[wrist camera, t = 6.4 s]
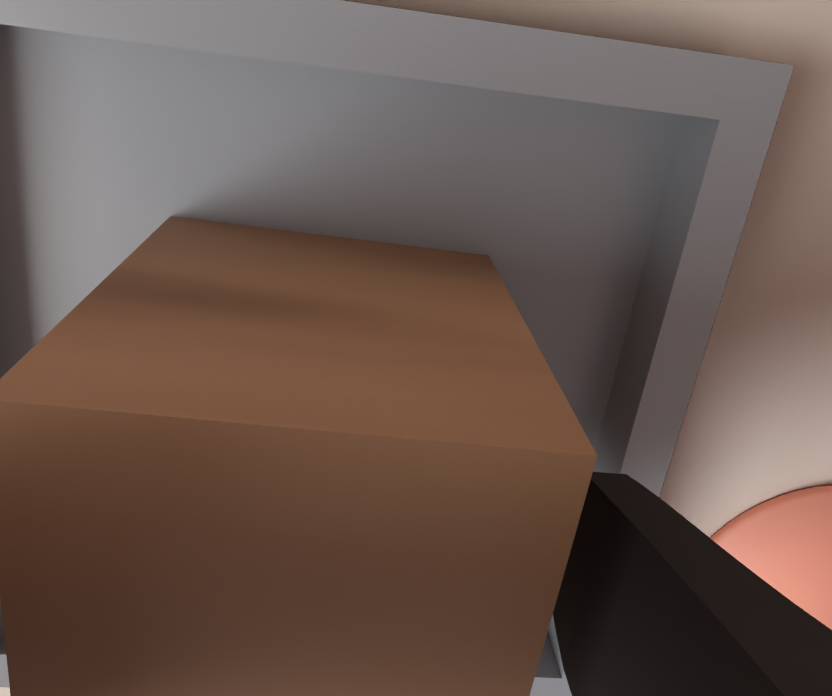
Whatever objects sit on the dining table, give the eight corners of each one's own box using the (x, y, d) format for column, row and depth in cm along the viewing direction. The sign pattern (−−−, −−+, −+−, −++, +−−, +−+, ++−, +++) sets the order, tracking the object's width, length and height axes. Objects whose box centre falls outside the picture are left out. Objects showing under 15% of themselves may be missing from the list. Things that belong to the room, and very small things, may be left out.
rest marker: (877, 702, 17) (885, 713, 17) (639, 692, 17) (643, 703, 16) (985, 495, 15) (997, 504, 15) (713, 474, 14) (720, 483, 14)
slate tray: (569, 639, 16) (593, 709, 14) (-3, 611, 15) (-49, 684, 13) (731, 59, 11) (794, 65, 10) (-90, -58, 10) (-181, -76, 8)
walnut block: (440, 509, 14) (490, 833, 8) (167, 488, 13) (23, 821, 8) (488, 255, 12) (597, 455, 6) (170, 216, 11) (-22, 398, 6)
